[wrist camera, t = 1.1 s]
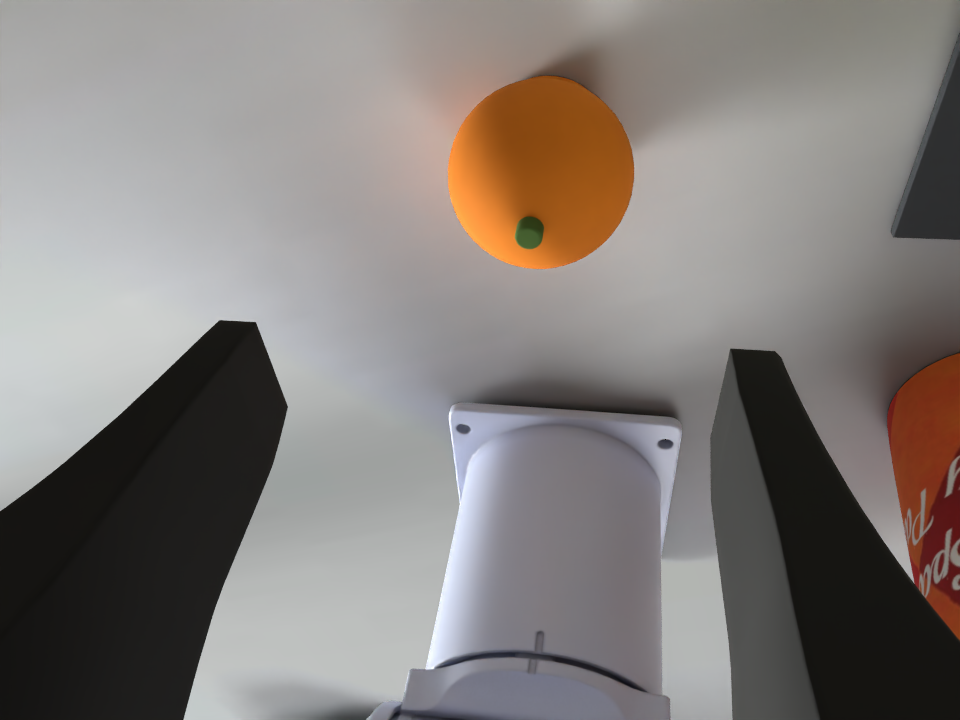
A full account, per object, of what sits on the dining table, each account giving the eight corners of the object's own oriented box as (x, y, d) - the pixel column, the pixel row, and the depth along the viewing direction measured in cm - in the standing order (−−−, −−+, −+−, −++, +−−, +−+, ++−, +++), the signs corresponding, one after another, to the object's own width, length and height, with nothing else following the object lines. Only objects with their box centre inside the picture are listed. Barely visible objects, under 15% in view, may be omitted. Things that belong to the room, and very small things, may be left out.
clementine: (629, 206, 22) (625, 322, 18) (470, 202, 22) (438, 312, 19) (641, 46, 19) (639, 148, 15) (458, 46, 19) (416, 144, 16)
